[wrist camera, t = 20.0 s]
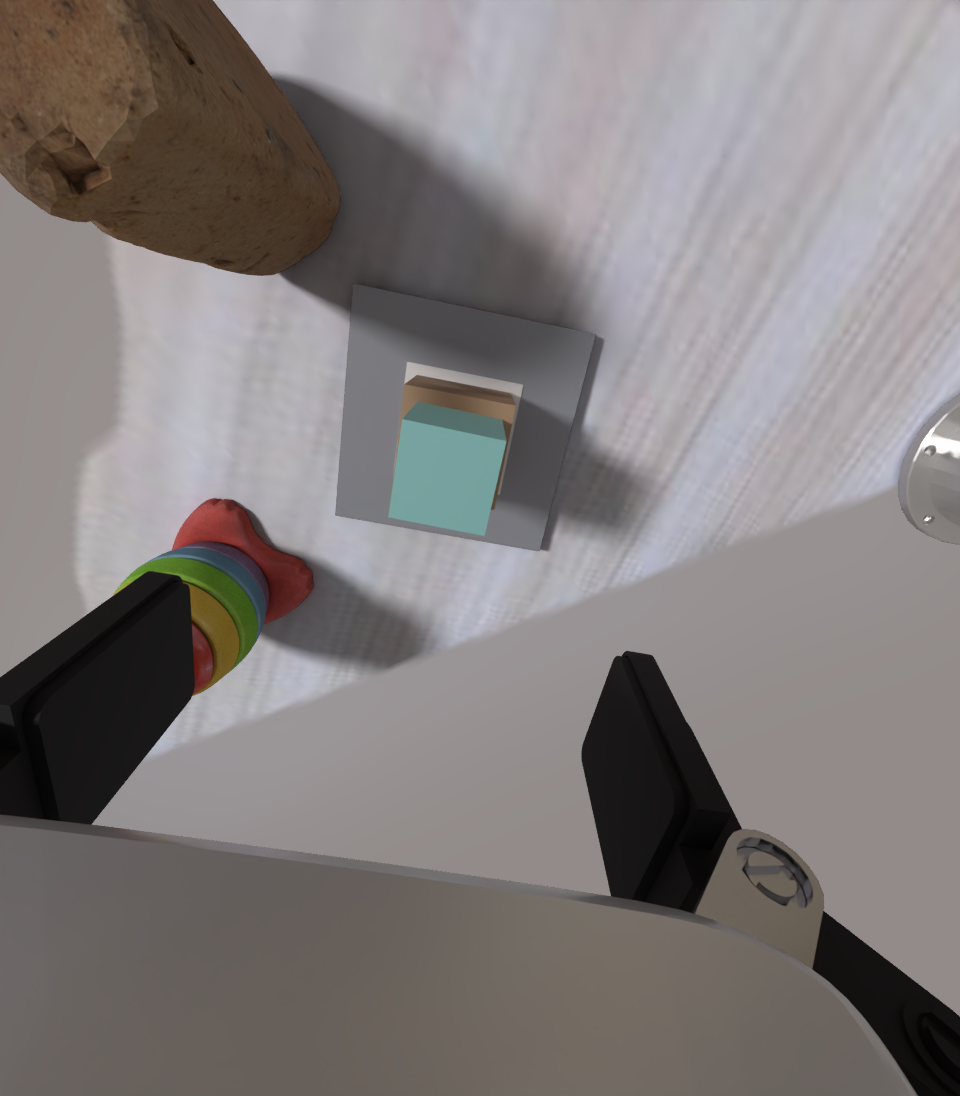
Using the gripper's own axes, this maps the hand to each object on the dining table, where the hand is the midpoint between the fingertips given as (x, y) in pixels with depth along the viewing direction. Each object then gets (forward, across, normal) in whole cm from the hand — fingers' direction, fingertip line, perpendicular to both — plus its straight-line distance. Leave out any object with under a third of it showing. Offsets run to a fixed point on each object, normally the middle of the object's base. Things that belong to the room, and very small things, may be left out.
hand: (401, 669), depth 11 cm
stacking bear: (+28, +16, +15) cm, 36 cm away
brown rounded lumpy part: (+28, +14, -13) cm, 34 cm away
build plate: (+28, 0, 0) cm, 28 cm away
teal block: (+21, 0, 0) cm, 21 cm away
